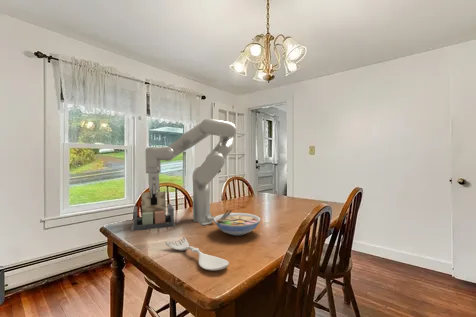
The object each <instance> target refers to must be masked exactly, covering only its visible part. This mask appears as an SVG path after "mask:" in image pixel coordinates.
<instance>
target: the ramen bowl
mask: <svg viewBox="0 0 476 317" xmlns="http://www.w3.org/2000/svg"><path fill="white" fill-rule="evenodd" d="M213 222H214V223H215V226H217V227H218V228H219V230H220V231H221V232H223V233H226V234H228V235H231V236H233V237H234V236H235V237H239V236H244V235H245V234H249V233H251V232H252V231H254V230H255V229H256V228H257V226H258V225H259V224H260V222H261V217H259V216H258V215H256V214H252V213H247V212H232V210H228V209H227V210H226V212H224V213H223V214H219V215H216V216H214V221H213Z"/></svg>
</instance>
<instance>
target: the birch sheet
mask: <svg viewBox="0 0 476 317" xmlns="http://www.w3.org/2000/svg"><path fill="white" fill-rule="evenodd" d="M166 208H167V207H166V191H159V192H158V191H157V205H151V192H150V191H149V192H141V214H142V213H144V212H153V218H155V212H156V211H165V217H166V215H167V213H166V211H167V210H166Z"/></svg>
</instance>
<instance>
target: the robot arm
mask: <svg viewBox="0 0 476 317" xmlns="http://www.w3.org/2000/svg"><path fill="white" fill-rule="evenodd" d="M236 134H237V127H236V125H235V124H234V123H233V122H231V121H224V120H220V119H214V118H204V119H203V120H202V121H201V122H200V123H198V124H197V125H195V126H194V127H192V128H191V129H189V130H188V131H186V132H184V133H183V134H181V136H180V137H179V138H178V139H176V140H175V141H174V142H172V143H170V144H169V145H168V146H165V147H157V146H156V147H146V148H145V174H147V176H148V177H147V178H148V181H147V182H148V190H149V192H151V205H157V192H160V174H161V173H162V172H161V161H165V162H169V161H170V162H171V161H172V160H173V159H175V158H177V157H178V156H180V154H182V153H184V152H185V151H187V150H189V149H191V148H193V147H194V146H195V145H198V143H200V142H202V141H203V140H204V139H206V138H207V137H209V136H210V135H212V136H218V137H219V142H218V143H217V144H215V147H214V148H213V149H212V151H210V153H209V154H207V156H206V158H205V160H204V161H203V162H202V164H201V165H200V166H198V167H196V168H194V170H193V171H192V222H195V223H199V225H200V226H206V225H210V224H212V223H213V222H214V217H215V216H213V215H212V213H211V188H210V186H211V185H210V184H211V182H212V181H213V179H214V178H216V176H217V175H218V174H219V173H220V172H221V170H222V169H223V167H224V165H225V162H226V161H225V159H226V158H227V156H228V155H229V154H230V152H231V151H232V150H233V148H234V144H235V139H234V138H235V137H234V136H236Z"/></svg>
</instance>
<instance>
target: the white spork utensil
mask: <svg viewBox="0 0 476 317" xmlns="http://www.w3.org/2000/svg"><path fill="white" fill-rule="evenodd" d="M177 240H178V241H176V240H175V241H174V242H173V241H171V242H170V241H165V242H164V243H165V245H166V246H167V247H169V248H172V249H173V250H176V251H181V252H182V251H186V250H190V251H191V252H192V253H197V254H198V265H199V266H200V268H202V269H204V270H206V271H221V270H224V269H225V268H227V267H228V266H229V264H230V262H229V261H228V260H226V259H224V258H221V257H218V256H215V255H210V254H206V253H204V252H202V251H200V249H199V248H198V247H194V246H191V245H190V243H189V241H188V240H187V239H186V237H185V236H182V238H180V239H177ZM189 245H190V246H189Z"/></svg>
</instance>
